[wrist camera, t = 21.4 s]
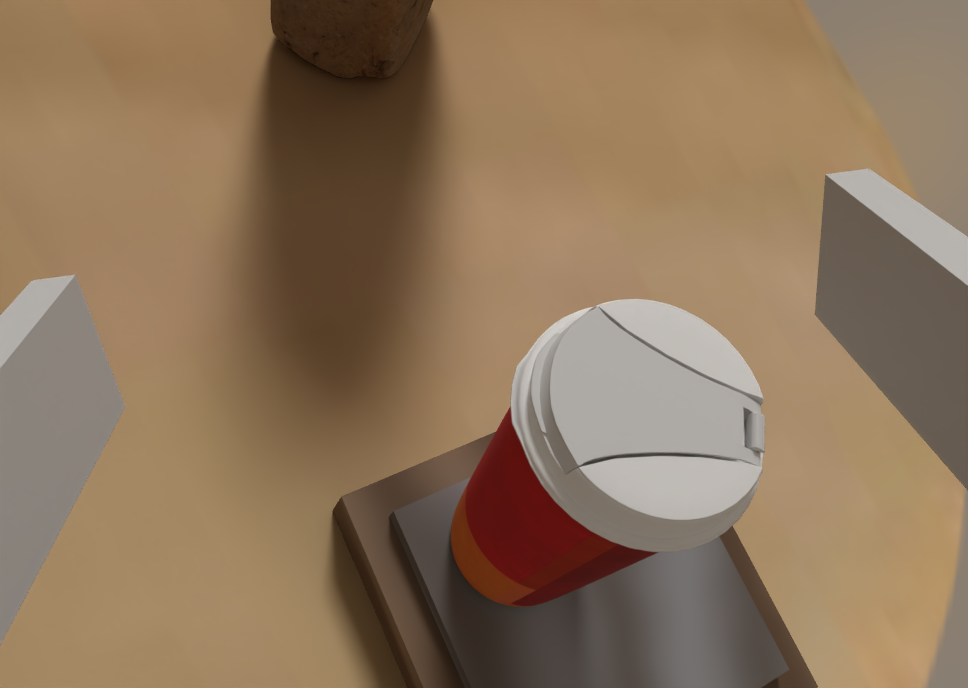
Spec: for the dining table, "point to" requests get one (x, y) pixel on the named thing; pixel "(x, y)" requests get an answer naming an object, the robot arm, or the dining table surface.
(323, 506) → the dining table surface
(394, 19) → the block
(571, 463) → the paper cup
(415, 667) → the plinth
